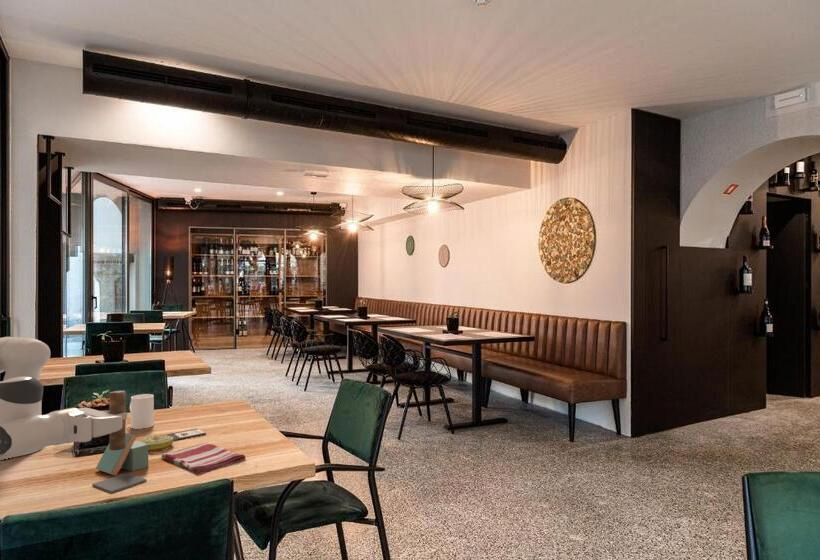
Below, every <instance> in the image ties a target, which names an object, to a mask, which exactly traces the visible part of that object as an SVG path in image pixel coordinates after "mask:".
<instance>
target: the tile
mask: <svg viewBox="0 0 820 560" xmlns="http://www.w3.org/2000/svg"><path fill="white" fill-rule="evenodd" d="M137 437H138V436H137V435H134V434H131V433H128V432H125V442H126V447H125V448H124V449H121V450H110V442H109V443H108V445H107V446H106V448H105V450H104V452H103V454H102V456H101V457H100V460H99V461H98V463H97V465H96V466H95V469H96V470H98V471H101V472H103V473H106V474H110V475H112V476H114V477H115V476H118V475H119V472H120V470H121V469H122V468H121V466H122V464H123V462H124V460H125V458H126V457H127V455H128V453H129V451H130V449H131V447H132V445H133V443H134V441H136V439H137Z"/></svg>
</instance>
